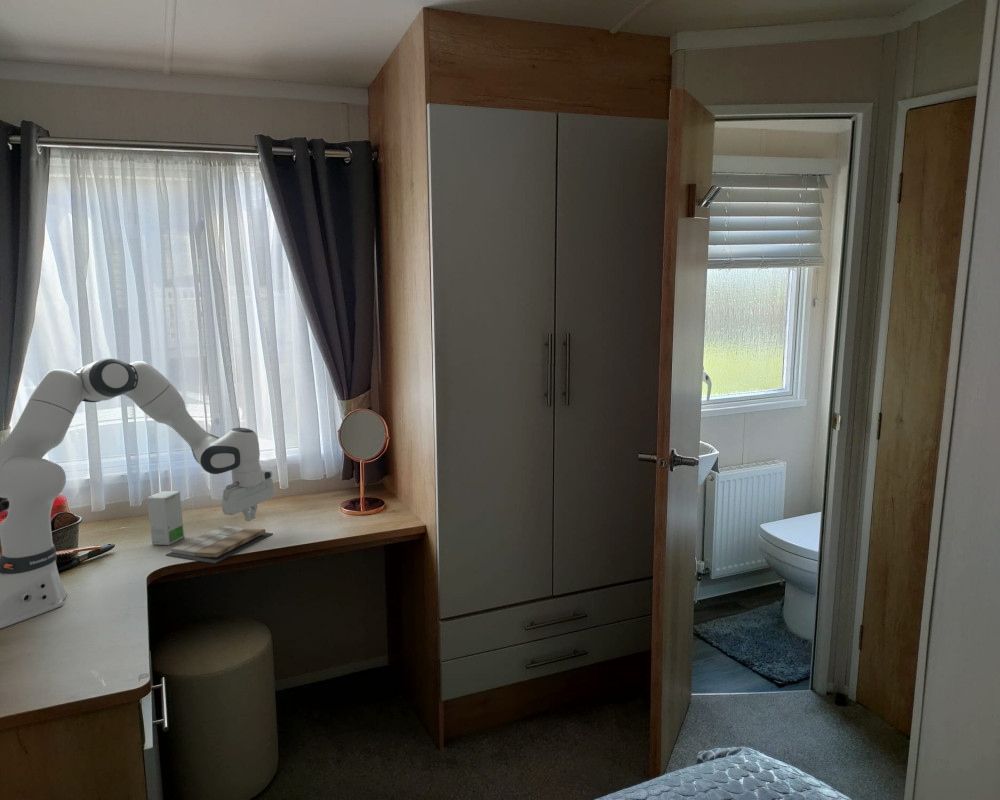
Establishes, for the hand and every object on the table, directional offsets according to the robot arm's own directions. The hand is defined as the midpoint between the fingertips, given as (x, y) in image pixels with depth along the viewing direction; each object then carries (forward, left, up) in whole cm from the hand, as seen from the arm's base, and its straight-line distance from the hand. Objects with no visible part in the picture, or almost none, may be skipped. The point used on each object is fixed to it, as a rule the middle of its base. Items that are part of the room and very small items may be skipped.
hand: (250, 519), depth 230 cm
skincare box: (-10, +25, -7) cm, 28 cm away
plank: (-7, +2, -6) cm, 9 cm away
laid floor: (-7, +10, -6) cm, 14 cm away
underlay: (-7, +6, -7) cm, 11 cm away
